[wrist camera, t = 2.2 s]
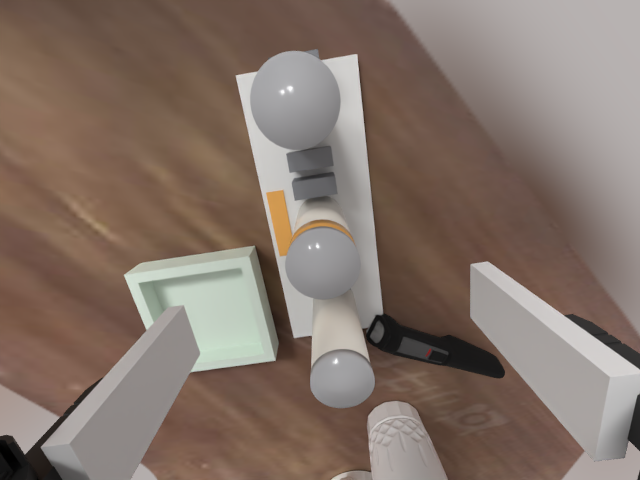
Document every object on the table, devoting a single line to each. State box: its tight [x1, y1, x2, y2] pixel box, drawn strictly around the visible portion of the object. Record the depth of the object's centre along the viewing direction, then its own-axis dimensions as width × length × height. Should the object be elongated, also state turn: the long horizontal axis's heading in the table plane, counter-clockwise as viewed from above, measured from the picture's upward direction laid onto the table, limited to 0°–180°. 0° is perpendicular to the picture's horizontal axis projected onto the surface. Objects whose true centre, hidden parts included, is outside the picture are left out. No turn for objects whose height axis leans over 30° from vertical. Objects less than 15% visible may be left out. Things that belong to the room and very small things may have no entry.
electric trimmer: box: [366, 314, 505, 378], centre depth 32 cm, size 4×16×3 cm, turn 68°
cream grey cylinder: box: [250, 51, 341, 150], centre depth 20 cm, size 4×4×11 cm
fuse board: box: [236, 49, 383, 338], centre depth 27 cm, size 26×10×4 cm, turn 9°
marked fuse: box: [285, 196, 361, 299], centre depth 23 cm, size 4×4×11 cm
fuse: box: [310, 290, 375, 408], centre depth 26 cm, size 4×4×11 cm
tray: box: [124, 246, 279, 372], centre depth 31 cm, size 12×12×3 cm
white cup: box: [367, 401, 448, 480], centre depth 33 cm, size 8×8×10 cm
